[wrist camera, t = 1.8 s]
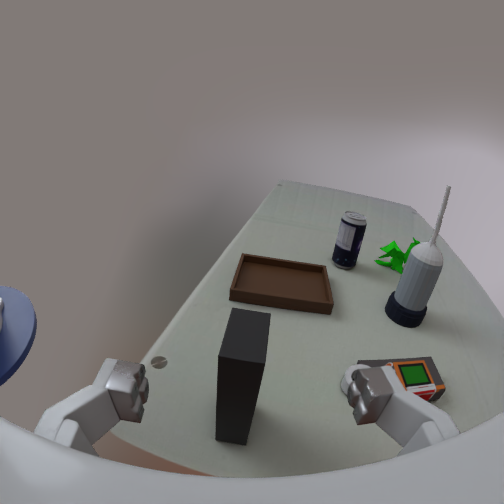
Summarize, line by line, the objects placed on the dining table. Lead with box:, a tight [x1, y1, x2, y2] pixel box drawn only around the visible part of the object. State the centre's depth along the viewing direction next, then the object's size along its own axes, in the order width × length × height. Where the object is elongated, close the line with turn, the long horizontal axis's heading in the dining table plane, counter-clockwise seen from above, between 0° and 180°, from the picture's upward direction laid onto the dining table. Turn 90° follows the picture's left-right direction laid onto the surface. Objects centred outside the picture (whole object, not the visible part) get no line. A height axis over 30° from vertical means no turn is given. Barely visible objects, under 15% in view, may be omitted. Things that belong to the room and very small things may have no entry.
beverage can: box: [332, 211, 367, 269], centre depth 61 cm, size 6×6×12 cm
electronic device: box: [341, 357, 445, 402], centre depth 31 cm, size 7×3×15 cm
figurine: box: [374, 237, 420, 274], centre depth 63 cm, size 6×12×9 cm, turn 63°
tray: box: [229, 253, 334, 315], centre depth 52 cm, size 17×13×2 cm
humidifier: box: [385, 186, 451, 328], centre depth 42 cm, size 8×8×25 cm
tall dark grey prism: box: [215, 308, 271, 445], centre depth 24 cm, size 3×6×14 cm, turn 173°
